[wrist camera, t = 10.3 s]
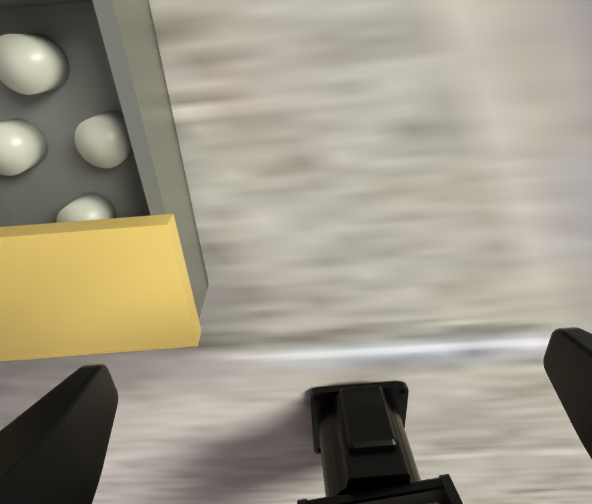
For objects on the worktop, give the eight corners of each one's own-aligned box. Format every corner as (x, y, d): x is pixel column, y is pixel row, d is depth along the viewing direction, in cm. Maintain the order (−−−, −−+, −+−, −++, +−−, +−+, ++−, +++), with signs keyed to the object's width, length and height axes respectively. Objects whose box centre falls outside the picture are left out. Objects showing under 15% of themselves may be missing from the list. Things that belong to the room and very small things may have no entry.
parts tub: (213, 283, 22) (197, 346, 17) (41, 296, 22) (-18, 362, 17) (152, -21, 15) (99, -44, 10) (-100, -2, 15) (-257, -17, 10)
